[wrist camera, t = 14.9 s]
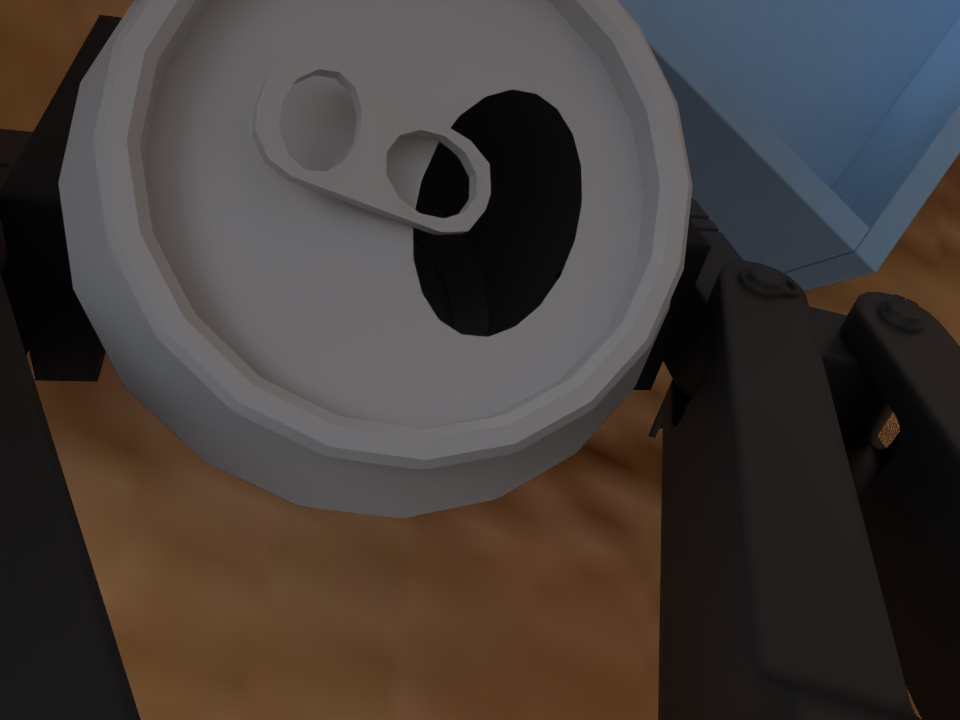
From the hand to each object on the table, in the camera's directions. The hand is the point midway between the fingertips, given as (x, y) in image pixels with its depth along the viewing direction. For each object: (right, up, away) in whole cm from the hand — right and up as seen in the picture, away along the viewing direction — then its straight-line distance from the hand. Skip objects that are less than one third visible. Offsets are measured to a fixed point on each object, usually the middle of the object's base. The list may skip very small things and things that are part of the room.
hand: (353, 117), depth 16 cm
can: (-1, -4, +4) cm, 6 cm away
